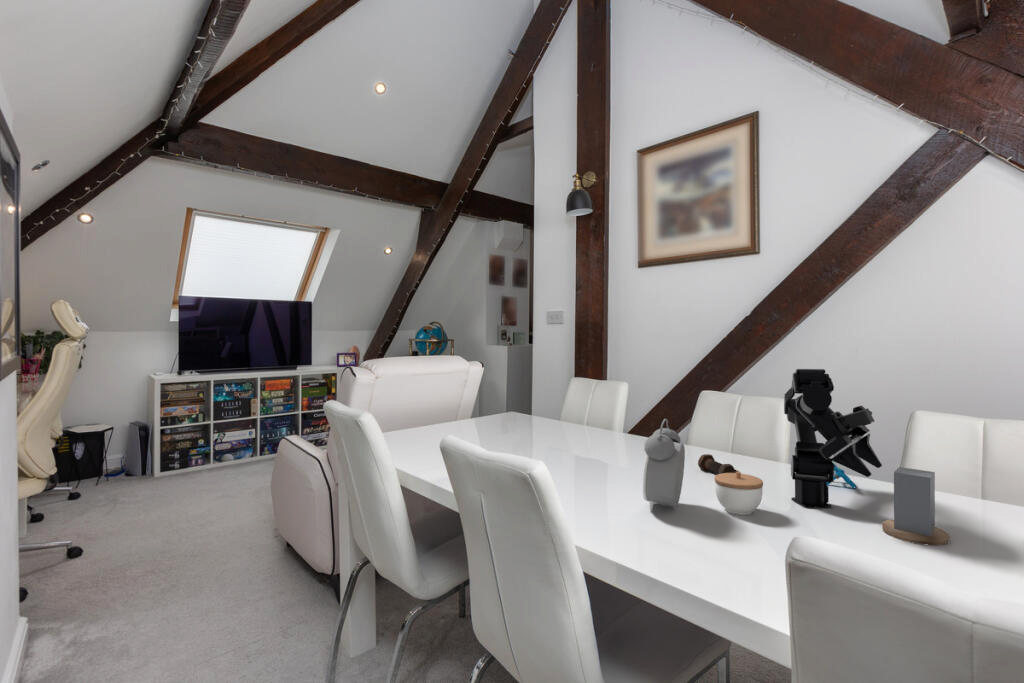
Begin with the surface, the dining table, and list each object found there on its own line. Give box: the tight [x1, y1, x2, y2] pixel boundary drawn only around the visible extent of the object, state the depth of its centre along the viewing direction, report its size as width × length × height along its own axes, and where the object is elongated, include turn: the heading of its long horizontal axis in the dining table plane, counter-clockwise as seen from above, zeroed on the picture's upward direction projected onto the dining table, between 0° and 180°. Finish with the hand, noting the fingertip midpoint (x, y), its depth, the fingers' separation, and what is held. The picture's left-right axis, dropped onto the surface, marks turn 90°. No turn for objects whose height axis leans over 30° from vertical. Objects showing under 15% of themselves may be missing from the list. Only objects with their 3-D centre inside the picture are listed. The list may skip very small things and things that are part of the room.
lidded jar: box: [714, 471, 764, 516], centre depth 122 cm, size 11×11×9 cm
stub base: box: [881, 518, 950, 546], centre depth 107 cm, size 11×11×5 cm
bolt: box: [697, 453, 740, 475], centre depth 153 cm, size 6×5×15 cm
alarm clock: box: [642, 418, 686, 512], centre depth 125 cm, size 16×9×22 cm, turn 154°
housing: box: [893, 466, 936, 537], centre depth 107 cm, size 6×6×12 cm
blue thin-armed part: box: [827, 464, 857, 489], centre depth 142 cm, size 11×6×10 cm
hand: (875, 471), depth 115 cm, fingers open, 9 cm apart
